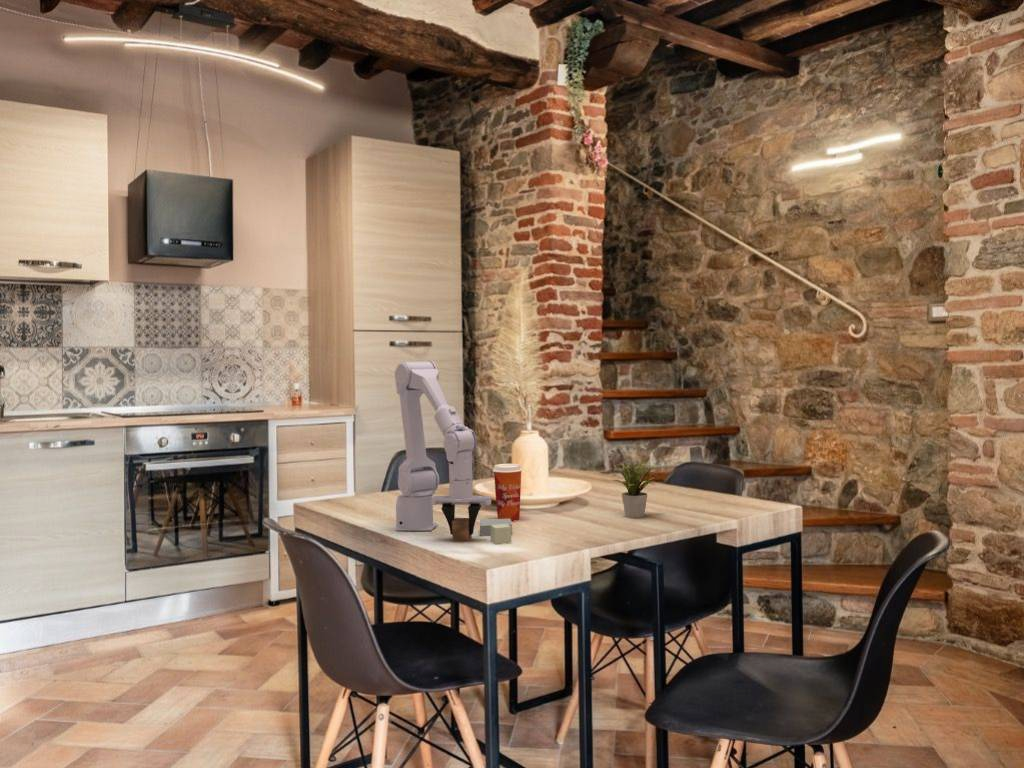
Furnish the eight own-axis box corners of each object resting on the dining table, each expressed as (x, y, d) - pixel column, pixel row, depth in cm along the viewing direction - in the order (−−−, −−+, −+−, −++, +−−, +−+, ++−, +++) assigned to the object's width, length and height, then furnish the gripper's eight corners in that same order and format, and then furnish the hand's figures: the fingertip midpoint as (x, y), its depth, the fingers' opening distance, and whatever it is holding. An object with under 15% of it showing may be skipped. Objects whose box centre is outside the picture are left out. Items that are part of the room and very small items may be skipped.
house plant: (660, 522, 218) (659, 461, 218) (608, 521, 222) (607, 461, 221) (663, 512, 232) (662, 455, 232) (614, 511, 235) (613, 454, 235)
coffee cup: (498, 523, 223) (497, 467, 222) (490, 517, 230) (489, 464, 230) (527, 520, 225) (526, 466, 224) (519, 515, 233) (517, 462, 232)
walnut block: (452, 541, 201) (452, 521, 201) (455, 537, 205) (455, 517, 205) (468, 541, 201) (468, 521, 201) (471, 537, 205) (471, 517, 205)
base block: (480, 537, 207) (479, 525, 207) (480, 530, 215) (480, 519, 215) (512, 536, 207) (511, 524, 207) (510, 530, 215) (510, 518, 215)
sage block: (495, 544, 197) (495, 528, 197) (490, 541, 201) (490, 525, 201) (511, 543, 198) (511, 526, 198) (506, 539, 202) (506, 523, 202)
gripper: (428, 481, 200) (429, 537, 200) (487, 481, 198) (488, 537, 198) (434, 477, 207) (436, 531, 207) (491, 477, 205) (493, 531, 205)
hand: (462, 533), depth 203 cm, fingers closed on walnut block, 4 cm apart
